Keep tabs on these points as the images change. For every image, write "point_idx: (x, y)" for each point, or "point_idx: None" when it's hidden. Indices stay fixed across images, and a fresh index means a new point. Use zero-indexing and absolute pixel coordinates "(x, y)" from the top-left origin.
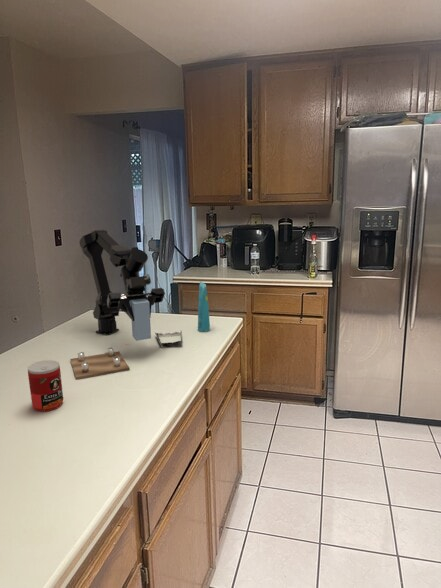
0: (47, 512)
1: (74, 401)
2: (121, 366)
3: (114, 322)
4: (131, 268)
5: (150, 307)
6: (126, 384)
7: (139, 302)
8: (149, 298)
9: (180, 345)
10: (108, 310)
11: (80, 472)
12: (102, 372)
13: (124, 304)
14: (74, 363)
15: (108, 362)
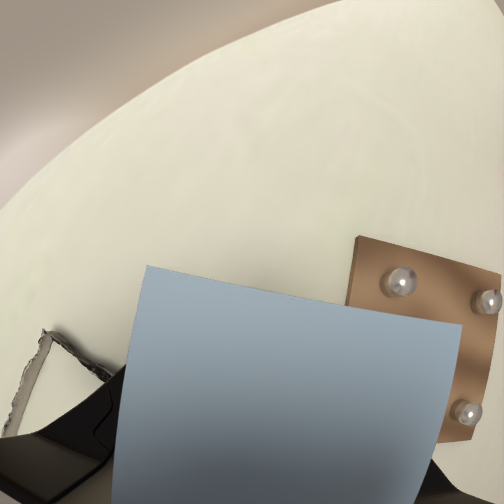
0: (484, 7)
1: (501, 157)
2: (379, 267)
3: None
4: None
5: (113, 387)
6: (395, 145)
7: (348, 366)
8: (45, 474)
9: (58, 335)
10: None
11: (469, 14)
12: (444, 258)
13: (462, 494)
14: (479, 392)
15: None
